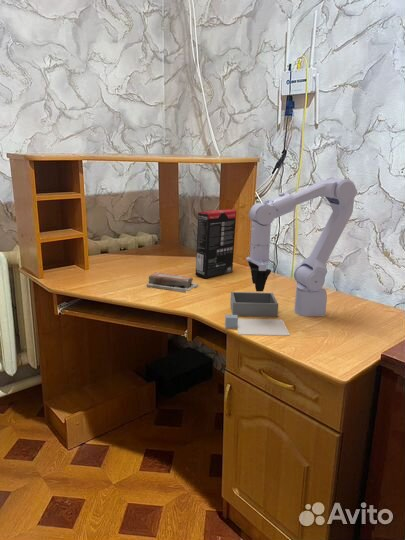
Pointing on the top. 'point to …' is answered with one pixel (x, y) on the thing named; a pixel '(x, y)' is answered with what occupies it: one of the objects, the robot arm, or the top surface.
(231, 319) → the white slab
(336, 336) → the top surface
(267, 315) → the gray open box
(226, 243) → the graphics card box
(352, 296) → the top surface
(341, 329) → the top surface
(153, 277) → the packaged product
